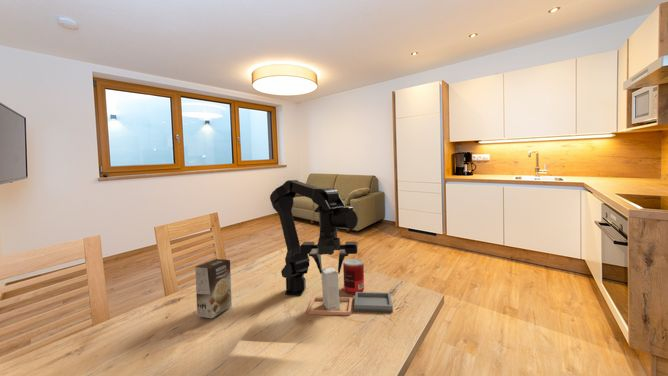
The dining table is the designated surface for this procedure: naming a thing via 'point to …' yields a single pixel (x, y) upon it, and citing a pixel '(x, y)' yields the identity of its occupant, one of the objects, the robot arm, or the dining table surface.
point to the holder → (330, 312)
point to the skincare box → (330, 289)
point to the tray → (373, 302)
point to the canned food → (353, 275)
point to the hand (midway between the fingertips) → (329, 273)
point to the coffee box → (213, 287)
